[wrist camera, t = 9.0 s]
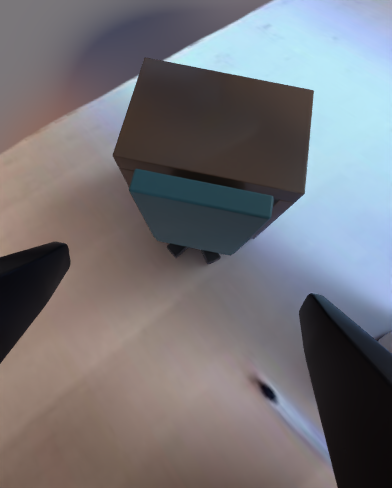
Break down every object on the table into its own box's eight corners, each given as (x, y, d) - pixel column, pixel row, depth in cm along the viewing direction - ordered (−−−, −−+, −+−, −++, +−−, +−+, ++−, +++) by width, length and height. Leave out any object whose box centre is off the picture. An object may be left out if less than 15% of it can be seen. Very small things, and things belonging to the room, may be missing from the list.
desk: (254, 238, 18) (305, 194, 10) (144, 216, 18) (111, 155, 10) (263, 173, 19) (314, 89, 12) (161, 152, 20) (144, 56, 12)
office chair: (227, 269, 17) (292, 223, 7) (156, 255, 17) (108, 186, 7) (237, 205, 19) (306, 81, 8) (171, 192, 19) (151, 51, 8)
